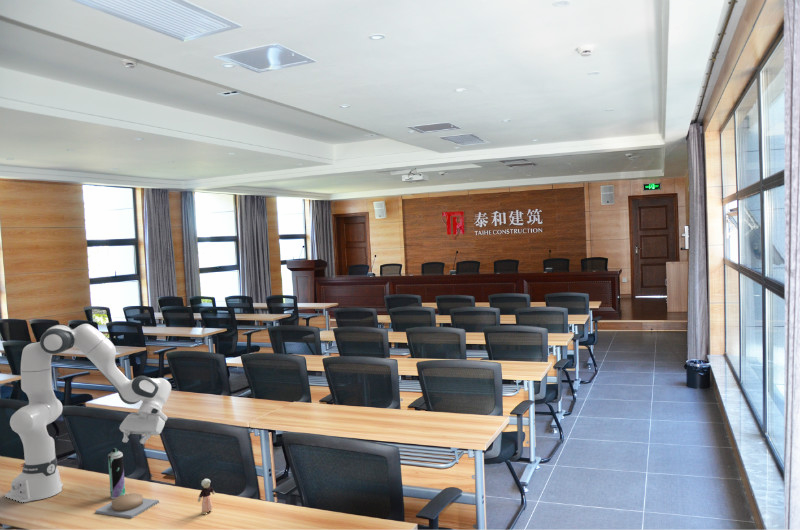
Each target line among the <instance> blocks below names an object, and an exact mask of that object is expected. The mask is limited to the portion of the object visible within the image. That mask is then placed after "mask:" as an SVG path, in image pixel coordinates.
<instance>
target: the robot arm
mask: <svg viewBox="0 0 800 530" xmlns="http://www.w3.org/2000/svg"><path fill="white" fill-rule="evenodd" d="M72 348H75V349H78V350H79V351H80V352H81V353H82V354H83V355H84V356H85V357H86V358H87V359H88V360H90V361H91V362H92V364H93V365H94V366H95V367H96V368H97V369H98V370H99V372H100V373H101V374H102V375H103V376H104V378H105V379H106V380H107V381H108V382H109V383H110V384H111V385H112V386H113V387H114V389H115V390H116V392H117V394H118V397H119V399H120V400H121V401H122V402H123V403H125V404H127V405H136V404H137V403H139V402H140V401H142V403H141V405H140V406H139V408H138V409H137V412H134V411H133V412H131V413H129V414H127V416H126V417H125V418H124V419H123V421H122V422H121V424H120V426H119V430H120V432H122V433H123V438H122V440H121V441H122V442H123V443H128V441H129V440H130V439H129V436H130V434H135V435H144V437H143V438H140V440H139V443H140V444H142V445H145V444H146V442H147V441H148V440H149V439H150V438H151V437H152V436H159V435H160V434H161V433H162V431H163V429H164V427H165V423H166V421H167V420H168V416H167V415H166V414H165V413H164V412H163V411H162V410H163V407H164V405H166V403H167V401H168V399H169V397H170V394H171V392H172V385H171V382H169V380H167V379H165V378H163V377H157V378H155V377H152V378H151V377H148V376H147V375H138V376H136V377H134V378H133V379H129V378H128V377H127V376H125V374H124V373H123V372H122V371H121V370H120V369H119V368H118V367H117V366H118V365H117V364H116V355H117V349H116V346H115V344H114V343H113V342H112V341H111V340H110V339H109V338H108V337H107V336H106V335H105V334H104V333H102V332H101V331H100V329H99V330H98V329H97V328H96V327H94V326H93V325H91V324H89V323H82V324H80V325H78V326H77V327H75V328H72V327H71V326H69V325H67V324H64V323H63V324H60V323H59V324H56V325H55V324H54V325H53V326H51V327H48V329H47V330H46V331H44V332H43V334H42V335H41V337H40V338H39V341H38V342H31V343H29V344H27V345H26V346H24V348H23V349H22V353H21V358H20V359H21V360H20V388H21V391H22V392H24V393H25V394H26V396H27V398H28V404H27V405H25V406H22V407H20V408H19V409H17V410H16V411H15V412H14V413H13V414H11V417H10V420H9V426H10V427H11V430H12V431H13V432H15V433H16V434H18V436H19V437H20V440H21V442H22V446H23V453H24V455H23V457H24V463H22V464H20V468H22V470H21V471H20V473H19V474H18V475H17V476H16V477H15V478H14V479H13V480H12V481H11V484H10V490H9V491H8V492H5V494H4V498H6V497H7V498H6V499H9V498H10V499H9V500H12V499H13V500H12V501H15V500H16V501H15V502H18V501H19V502H18V503H21V502H22V503H21V504H23V502H24V503H28V502H32V501H33V502H34V501H38V500H43V499H47V498H50V497H54V496H55V495H58V494H59V493H60V492H62V491H63V486H64V484H63V482H61V481H62V480H61V477H60V476H61V475H60V472H59V471H60V470H59V467H58V459H57V456H56V448H55V447H56V446H55V445H56V444H55V439H54V437H52V436H50V435H49V432H48V430H47V426H48V425H50V424H51V423H53V422H55V421H56V420H57V419H58V418H59V417H60V416H61V415H62V413H63V410H64V409H63V404H62V402H61V400H60V399H58V398H57V396H56V393H55V392H54V387H53V376H52V375H53V373H52V358H53V355H57V354H62V353H63V352H65V351H67V350H69V349H72Z"/></svg>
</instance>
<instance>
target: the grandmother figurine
mask: <svg viewBox="0 0 800 530" xmlns="http://www.w3.org/2000/svg"><path fill="white" fill-rule="evenodd" d="M210 485H211V480H210V479H209V478H204V479H203V480H201V486H202V490H201V491H200V493H199V495H198V499H197V502H198V503H200V502H201V501H202V502H201V513H202V514H206V513H207V511H211V510H213V504H212V498H211V494H212V495H214V496H215V494H216V493H215V490H214V488H213V487H212V486H210ZM202 514H201V515H202ZM206 515H207V514H206Z"/></svg>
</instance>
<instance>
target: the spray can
mask: <svg viewBox="0 0 800 530" xmlns="http://www.w3.org/2000/svg"><path fill="white" fill-rule="evenodd" d="M107 461H108V462H107V463H108V477H109V493H110V499H112V500H113V499H115V498H117V497H119V496H121V495H125V494H126V484H125V483H126V482H125V469H124V468H125V467H124V454H123V452H122V451H120V450H119V449H118V447H114V448H112V451H111V452H110V453H109V454H107Z"/></svg>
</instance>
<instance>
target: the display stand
mask: <svg viewBox="0 0 800 530" xmlns="http://www.w3.org/2000/svg"><path fill="white" fill-rule="evenodd" d="M157 503H158V504H160V500H159V499H152V498H144V497H143V494H141V493H138V492H133V493H132V492H131V493H127V494H126V493H125V495H121V496H119V497H117V498H115V499H112V500H111V502H109V503H107V504H105V505H103V506H101V507H99V508H97V509H96V510H95V514H99V515H100V514H101V515H106V516H107V515H109V516H116V517H121V518H122V517H123V518H127V517H129V519H134V518H135V517H138V516H139V515H140V514H142V513H144V512H145V510H146V511H147V510H149V509H151V508H152V506H153V505H154V506H156V505H158V504H157ZM155 504H156V505H155ZM154 506H153V507H154ZM150 507H151V508H150ZM148 508H149V509H148ZM143 511H144V512H143ZM138 514H139V515H138ZM134 516H135V517H134Z"/></svg>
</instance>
